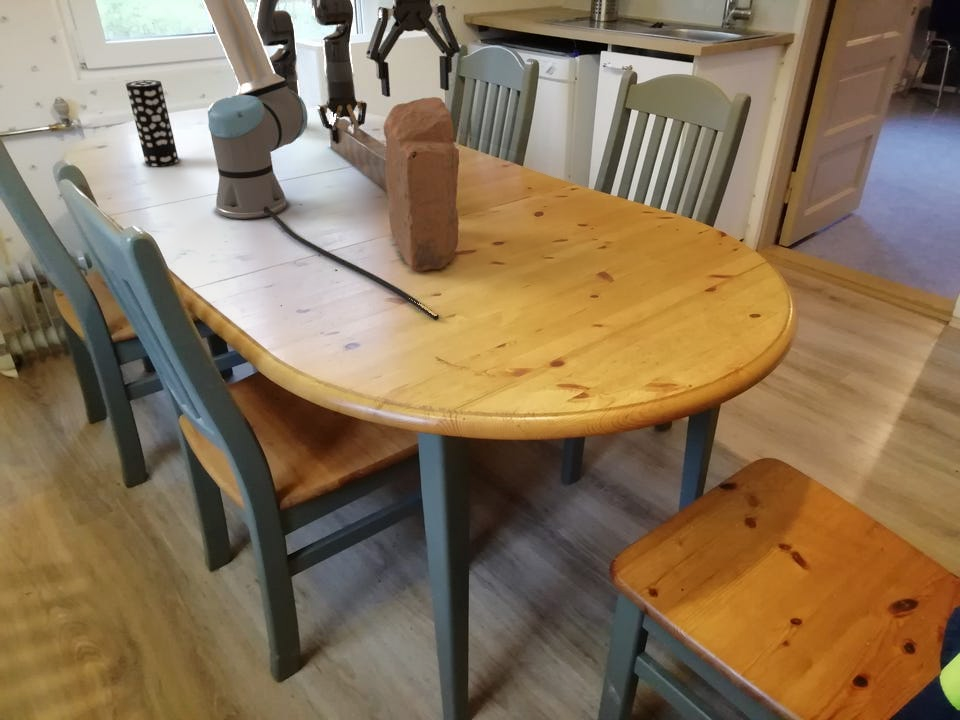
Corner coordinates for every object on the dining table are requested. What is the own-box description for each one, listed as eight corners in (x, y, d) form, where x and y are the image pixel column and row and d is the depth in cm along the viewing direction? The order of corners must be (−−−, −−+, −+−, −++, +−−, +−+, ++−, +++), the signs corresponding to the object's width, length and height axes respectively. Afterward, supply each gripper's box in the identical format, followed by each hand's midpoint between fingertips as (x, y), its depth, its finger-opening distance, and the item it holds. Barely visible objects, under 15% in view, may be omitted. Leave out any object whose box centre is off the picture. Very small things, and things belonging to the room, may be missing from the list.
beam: (440, 213, 156) (440, 180, 152) (420, 217, 154) (419, 184, 150) (347, 145, 202) (344, 118, 198) (330, 147, 200) (327, 120, 196)
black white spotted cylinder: (184, 157, 190) (167, 80, 179) (169, 166, 183) (151, 87, 172) (155, 156, 190) (136, 79, 179) (139, 165, 183) (119, 86, 172)
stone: (470, 268, 131) (468, 114, 117) (412, 275, 128) (403, 119, 114) (440, 231, 149) (435, 93, 134) (388, 237, 146) (378, 97, 131)
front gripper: (458, -25, 143) (459, 83, 154) (343, -21, 133) (354, 94, 144) (475, -23, 137) (475, 89, 149) (357, -19, 127) (366, 101, 138)
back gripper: (359, 73, 191) (364, 135, 201) (309, 77, 185) (316, 141, 195) (369, 78, 186) (374, 141, 195) (318, 82, 180) (325, 148, 189)
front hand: (415, 92), depth 146 cm, fingers open, 13 cm apart
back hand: (345, 141), depth 195 cm, fingers closed on beam, 5 cm apart
